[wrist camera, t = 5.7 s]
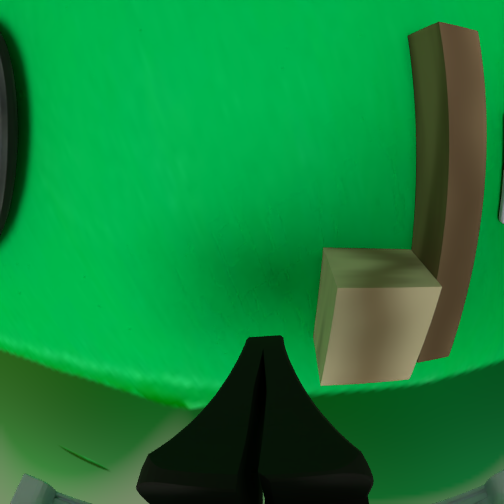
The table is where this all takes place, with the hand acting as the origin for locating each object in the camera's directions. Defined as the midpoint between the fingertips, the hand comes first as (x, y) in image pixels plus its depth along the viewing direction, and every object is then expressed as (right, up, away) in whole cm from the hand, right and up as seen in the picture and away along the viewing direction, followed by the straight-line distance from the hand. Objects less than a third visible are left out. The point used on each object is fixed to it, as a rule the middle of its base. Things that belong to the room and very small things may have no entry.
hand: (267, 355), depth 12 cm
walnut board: (+11, +8, +5) cm, 14 cm away
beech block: (+7, +1, +9) cm, 11 cm away
